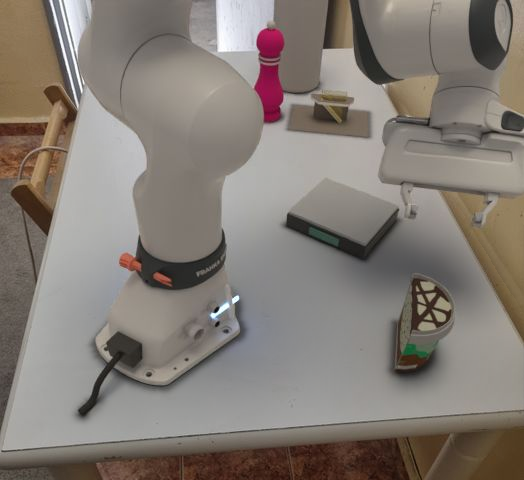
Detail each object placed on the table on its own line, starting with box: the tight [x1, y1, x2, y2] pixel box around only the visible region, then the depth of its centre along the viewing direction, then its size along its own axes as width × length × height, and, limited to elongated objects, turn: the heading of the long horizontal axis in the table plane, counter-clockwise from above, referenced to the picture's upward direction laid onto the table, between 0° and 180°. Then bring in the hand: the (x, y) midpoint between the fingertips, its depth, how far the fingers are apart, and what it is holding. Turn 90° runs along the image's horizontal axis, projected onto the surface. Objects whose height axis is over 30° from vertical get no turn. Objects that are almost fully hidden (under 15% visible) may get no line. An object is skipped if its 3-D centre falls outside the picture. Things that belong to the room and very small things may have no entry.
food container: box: [394, 272, 456, 373], centre depth 74 cm, size 12×6×10 cm, turn 168°
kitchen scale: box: [285, 177, 400, 260], centre depth 96 cm, size 14×16×3 cm
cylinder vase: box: [272, 0, 329, 94], centre depth 124 cm, size 12×12×25 cm
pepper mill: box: [253, 19, 285, 123], centre depth 114 cm, size 7×7×20 cm
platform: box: [288, 89, 369, 138], centre depth 119 cm, size 12×18×7 cm, turn 83°
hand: (443, 222), depth 73 cm, fingers open, 8 cm apart
